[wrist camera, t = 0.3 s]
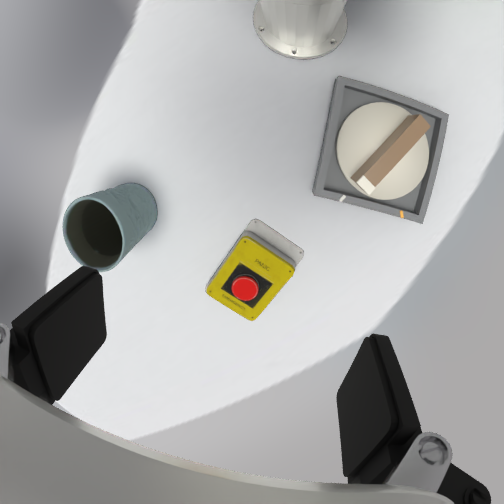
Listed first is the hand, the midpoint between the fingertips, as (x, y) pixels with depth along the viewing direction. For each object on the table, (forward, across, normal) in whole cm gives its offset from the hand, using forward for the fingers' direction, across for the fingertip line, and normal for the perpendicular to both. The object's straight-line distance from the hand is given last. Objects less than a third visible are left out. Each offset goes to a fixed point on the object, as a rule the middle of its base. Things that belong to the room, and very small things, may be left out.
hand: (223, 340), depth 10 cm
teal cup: (+34, +21, +8) cm, 41 cm away
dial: (+32, -13, -8) cm, 36 cm away
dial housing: (+34, -13, -8) cm, 37 cm away
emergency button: (+35, 0, +14) cm, 37 cm away
